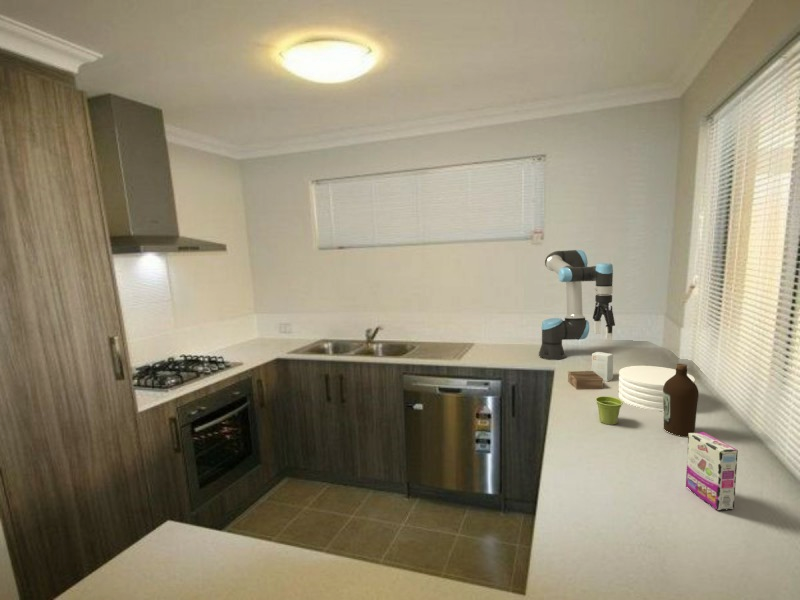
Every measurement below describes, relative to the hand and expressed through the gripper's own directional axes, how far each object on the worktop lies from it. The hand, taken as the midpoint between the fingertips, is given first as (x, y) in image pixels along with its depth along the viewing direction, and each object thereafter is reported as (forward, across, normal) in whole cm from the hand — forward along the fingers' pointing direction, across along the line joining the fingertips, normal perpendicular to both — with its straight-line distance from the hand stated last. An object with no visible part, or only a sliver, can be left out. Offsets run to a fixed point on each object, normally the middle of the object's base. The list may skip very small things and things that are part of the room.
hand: (603, 336), depth 210 cm
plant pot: (+22, +52, -19) cm, 60 cm away
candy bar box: (+22, +102, -14) cm, 105 cm away
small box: (+22, 0, 0) cm, 22 cm away
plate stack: (+22, +30, +10) cm, 39 cm away
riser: (+22, +9, -12) cm, 27 cm away
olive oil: (+22, +61, +2) cm, 65 cm away
